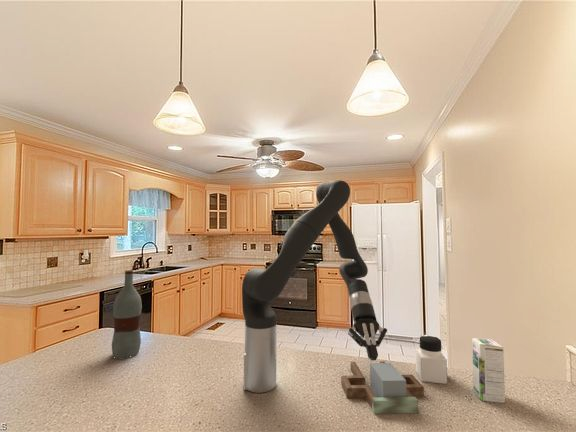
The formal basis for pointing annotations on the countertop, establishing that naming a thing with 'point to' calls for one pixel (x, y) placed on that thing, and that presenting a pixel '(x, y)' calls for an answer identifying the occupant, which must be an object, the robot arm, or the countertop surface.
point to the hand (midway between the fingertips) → (373, 359)
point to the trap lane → (358, 389)
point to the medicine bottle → (431, 360)
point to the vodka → (127, 320)
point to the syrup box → (488, 370)
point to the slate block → (386, 380)
